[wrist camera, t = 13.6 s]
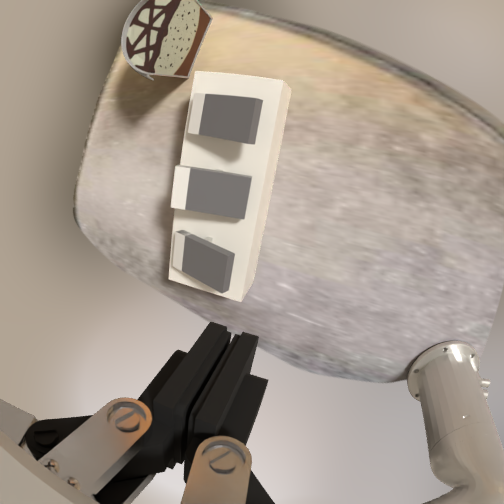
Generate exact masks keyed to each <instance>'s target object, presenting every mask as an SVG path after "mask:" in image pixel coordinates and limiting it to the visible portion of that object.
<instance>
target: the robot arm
mask: <svg viewBox="0 0 504 504" xmlns="http://www.w3.org/2000/svg"><path fill="white" fill-rule="evenodd" d="M258 338H259V337H258V336H255V335H252V334H249V333H245V332H242V334H241V335H237V334H235V336H234V337H233V339H232V341H231V343H230V339H231V332H228V331H227V327H226V326H223V325H220V324H217V323H214V322H210V323H209V324H208V326H207V327H206V329H205V330H204V331H203V333H202V334H201V336H200V337H199V338H198V340H197V341H196V342H195V344H194V345H193V347H192V348H191V349H190V351H189V352H188V353H186V352H183V351H181V350H177V351H175V352H174V354H173V355H172V356H171V357H170V359H169V360H168V361H167V363H166V364H165V365H164V366H163V368H162V369H161V371H160V372H159V373H158V374H157V375H156V377H155V378H154V379H153V380H152V382H151V383H150V384H149V385H148V387H147V388H146V389H145V391H144V392H143V393H142V394H141V396H140V397H139V398H138V400H136V399H133V398H118V399H114V400H112V401H110V402H109V403H107V404H106V405H105V406H104V407H103V408H102V409H100V410H99V411H98V412H97V413H95V414H94V415H90V416H81V417H71V418H60V419H47V420H41V421H39V420H37V419H36V417H35V416H34V415H32V414H29V413H27V412H25V411H23V410H21V409H19V408H17V407H15V406H13V405H11V404H9V403H7V402H5V401H3V400H1V399H0V504H131V503H132V502H133V500H134V499H135V498H136V497H137V496H138V495H139V494H140V492H141V491H143V489H144V488H145V487H146V486H147V485H148V484H149V483H150V481H151V480H152V479H153V478H154V476H155V475H156V473H160V472H164V471H165V470H166V468H167V467H168V468H171V469H173V468H174V466H175V464H176V463H180V464H182V463H183V462H184V481H185V483H186V487H185V491H184V494H183V497H182V501H181V504H275V503H274V502H273V500H272V499H271V498H270V496H269V495H268V494H267V492H266V491H265V489H264V488H263V487H262V485H261V484H260V482H259V481H258V479H257V478H256V477H255V475H254V474H253V472H252V471H251V464H252V458H251V454H250V452H249V449H248V448H247V447H246V443H247V441H248V438H249V435H250V433H251V430H252V427H253V425H254V422H255V419H256V416H257V414H258V411H259V408H260V405H261V402H262V399H263V395H264V393H265V389H266V386H267V383H268V380H267V379H264V378H260V377H257V376H254V375H251V374H250V371H251V367H252V363H253V359H254V355H255V351H256V347H257V343H258ZM479 366H480V361H479V357H478V354H477V352H476V351H475V349H474V348H473V347H472V346H471V345H470V344H468V343H465V342H462V341H448V342H444V343H441V344H438V345H436V346H433V347H431V348H430V349H428V350H427V351H425V352H424V353H423V354H422V355H420V356H419V357H418V358H417V360H416V361H415V362H414V363H413V365H412V366H411V368H410V371H409V373H408V378H407V383H408V388H409V392H410V393H411V395H412V396H413V397H414V398H415V399H416V400H418V401H420V402H421V406H422V412H423V418H424V423H425V430H426V437H427V443H428V449H429V450H428V451H429V458H430V465H431V469H432V471H433V473H434V475H435V476H436V477H437V478H438V479H439V480H440V481H441V482H443V483H444V484H446V485H448V486H450V487H452V488H453V490H451V491H450V492H448V493H447V494H444V495H442V496H440V497H439V498H436V499H433V500H431V501H428V502H425V503H423V504H504V449H503V447H502V444H501V441H500V438H499V435H498V432H497V429H496V426H495V423H494V420H493V417H492V415H491V412H490V409H489V406H488V404H487V401H486V399H487V397H488V391H487V390H484V389H482V388H481V387H489V385H490V380H489V379H481V377H480V375H479V373H478V371H479ZM184 460H185V461H184Z"/></svg>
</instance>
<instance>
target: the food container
mask: <svg viewBox="0 0 504 504" xmlns="http://www.w3.org/2000/svg"><path fill="white" fill-rule="evenodd" d="M212 19H213V18H212V17H211V16H210V14H209V13H208V12H207V11H206V10H205V9H204V7H203V6H202V5H201V4H200V3H199V2H198V0H141V1H140V2H139V3H138V4H137V5H136V6H135V7H134V9H133V10H132V12H131V13H130V15H129V16H128V18H127V20H126V22H125V25H124V28H123V31H122V38H121V45H122V51H123V55H124V57H125V59H126V61H127V62H128V64H129V65H130V66H131V67H132V68H133V69H134V70H135V71H136V72H138V73H139V74H141V75H142V76H144V77H146V78H148V79H151V80H154V79H153V78H151V77H150V76H149V75H160V76H170V77H180V78H189V76H190V73H191V70H192V68H193V65H194V63H195V60H196V57H197V55H198V52H199V50H200V47H201V45H202V43H203V40H204V38H205V35H206V33H207V31H208V28H209V26H210V24H211V21H212Z"/></svg>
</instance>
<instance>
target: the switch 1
mask: <svg viewBox="0 0 504 504" xmlns="http://www.w3.org/2000/svg"><path fill="white" fill-rule="evenodd" d="M262 104H263V100H261V99H258V98H251V97H242V96H231V95H219V94H204V93H194V98H193V104H192V110H191V116H190V122H189V128H188V133H192V134H198V135H204V136H209V137H215V138H220V139H225V140H231V141H236V142H241V143H245V144H254V145H255V141H256V136H257V130H258V125H259V120H260V114H261V109H262Z"/></svg>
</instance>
